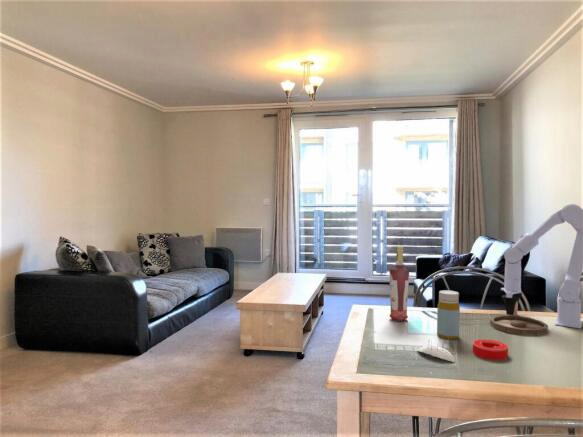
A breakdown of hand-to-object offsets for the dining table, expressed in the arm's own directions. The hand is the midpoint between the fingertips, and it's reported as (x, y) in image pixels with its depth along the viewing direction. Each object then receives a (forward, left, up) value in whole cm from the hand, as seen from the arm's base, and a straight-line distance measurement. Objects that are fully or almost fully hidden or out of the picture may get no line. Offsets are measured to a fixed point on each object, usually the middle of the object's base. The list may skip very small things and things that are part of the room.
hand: (511, 312), depth 174 cm
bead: (0, 0, -1) cm, 1 cm away
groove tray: (+14, +5, -1) cm, 15 cm away
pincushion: (+61, -11, -2) cm, 62 cm away
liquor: (+31, -34, -2) cm, 46 cm away
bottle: (+40, -13, -2) cm, 42 cm away
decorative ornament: (+49, +2, -2) cm, 49 cm away
